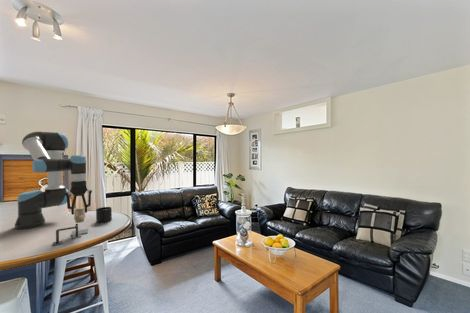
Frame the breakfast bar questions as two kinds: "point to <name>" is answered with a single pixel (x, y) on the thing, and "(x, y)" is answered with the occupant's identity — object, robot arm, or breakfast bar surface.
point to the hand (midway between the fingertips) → (79, 218)
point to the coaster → (80, 232)
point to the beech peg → (79, 215)
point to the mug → (103, 214)
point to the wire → (65, 229)
